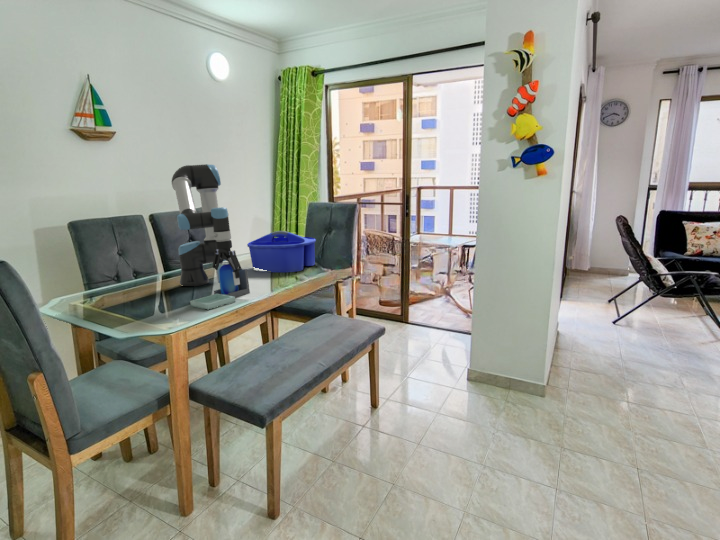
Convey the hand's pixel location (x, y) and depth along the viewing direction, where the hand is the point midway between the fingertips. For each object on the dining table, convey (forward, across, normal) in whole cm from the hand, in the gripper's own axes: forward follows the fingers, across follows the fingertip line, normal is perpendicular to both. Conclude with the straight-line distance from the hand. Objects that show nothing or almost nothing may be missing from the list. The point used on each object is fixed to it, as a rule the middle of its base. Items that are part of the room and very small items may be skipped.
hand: (228, 283), depth 210 cm
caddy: (+6, -28, +60) cm, 66 cm away
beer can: (+6, 0, 0) cm, 6 cm away
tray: (+6, +7, -14) cm, 17 cm away
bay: (+6, 0, +1) cm, 6 cm away
